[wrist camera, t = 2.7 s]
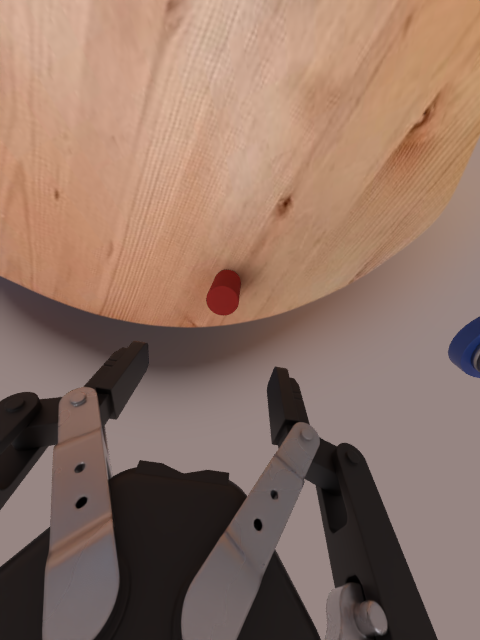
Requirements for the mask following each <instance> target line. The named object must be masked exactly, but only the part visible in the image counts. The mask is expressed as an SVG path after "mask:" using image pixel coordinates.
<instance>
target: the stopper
mask: <svg viewBox="0 0 480 640" xmlns="http://www.w3.org/2000/svg"><path fill="white" fill-rule="evenodd" d="M240 286H241V280H240V277H239V276H238V274H237V273H235V272H234V271H232V270H222V271H220V272H219V273H218V274H217V275H216V277H215V279H214V281H213V283H212V285H211V288H210V290H209V292H208V294H207V298H206V301H207V305H208V307H209V308H210V310H211V311H212V312H214V313H216V314H218V315H229V314H231V313H233V312H234V311H235V310H236V309H237V307H238V304H239V295H240Z"/></svg>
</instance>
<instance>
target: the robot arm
mask: <svg viewBox="0 0 480 640" xmlns="http://www.w3.org/2000/svg"><path fill="white" fill-rule="evenodd" d="M148 364H149V356H148V344H147V343H145V342H139V341H133V342H132V343H131V344H130V346H129V347H128V348H121V349H119V350H118V351H116V352H114V353H113V354H112V356H111V357H110V358H109V359H108V360H107V361H106V362H105V363H104V365H103V366H102V367H101V368H100V369H99V370H98V371H97V372H96V374H95V375H94V376H93V377H92V378H91V379H90V380H89V381H88V383H86V385H85V386H84V387H81V388H77V389H75V390H72V391H70V392H68V393H67V394H66V395H64V396H63V397H58V398H49V399H39V398H38V396H37V395H36V394H35V393H32V392H22V393H17V394H14V395H11V396H9V397H7V398H5V399H3V400H2V401H0V510H1V508H2V507H3V506H4V504H5V503H6V502H7V500H8V499H9V498H10V496H11V495H12V494H13V493H14V491H15V490H16V488H17V487H18V486H19V485H20V483H21V482H22V481H23V479H24V478H25V476H26V475H27V474H28V472H29V471H30V470H31V469H32V467H33V466H34V465H35V463H36V462H37V461H38V459H39V458H40V457H41V455H42V454H43V453H44V451H45V450H46V448H47V447H48V446H51V445H55V446H54V450H53V469H52V496H51V520H50V527H49V528H48V529H47V530H45V531H44V532H43V533H42V534H40V535H39V536H38V537H37V538H36V539H34V540H33V541H32V542H31V543H29V544H28V545H27V546H26V547H24V548H23V549H22V550H21V551H19V552H18V553H17V554H16V555H14V556H13V557H12V558H11V559H10V560H8V561H7V562H6V563H5V564H3V565H2V566H1V567H0V640H321V639H320V636H319V634H318V632H317V629H316V627H315V626H314V623H313V622H312V619H311V617H310V616H309V614H308V612H307V610H306V608H305V606H304V604H303V602H302V600H301V598H300V596H299V594H298V593H297V590H296V589H295V587H294V585H293V583H292V581H291V579H290V577H289V575H288V573H287V571H286V569H285V567H284V565H283V563H282V562H281V560H280V558H279V556H278V554H277V552H276V550H275V548H276V546H277V543H278V541H279V539H280V537H281V534H282V532H283V530H284V528H285V525H286V523H287V521H288V518H289V516H290V514H291V512H292V510H293V507H294V505H295V503H296V501H297V499H298V496H299V494H300V492H301V490H302V487H303V485H304V479H306V480H308V481H310V482H311V483H313V484H315V485H316V489H317V495H318V500H319V505H320V511H321V516H322V521H323V527H324V531H325V537H326V542H327V548H328V553H329V559H330V564H331V569H332V574H333V580H334V585H335V589H333V590H332V591H331V592H330V593H329V596H328V599H327V604H326V613H327V631H326V636H325V640H438V639H437V637H436V634H435V632H434V629H433V627H432V624H431V622H430V619H429V617H428V614H427V612H426V609H425V607H424V604H423V602H422V599H421V597H420V594H419V592H418V590H417V587H416V584H415V582H414V580H413V577H412V574H411V572H410V569H409V567H408V564H407V562H406V559H405V557H404V554H403V552H402V550H401V547H400V544H399V542H398V539H397V537H396V535H395V532H394V530H393V527H392V525H391V522H390V520H389V518H388V515H387V512H386V510H385V507H384V505H383V502H382V500H381V497H380V495H379V492H378V490H377V487H376V485H375V482H374V480H373V477H372V475H371V473H370V470H369V467H368V465H367V463H366V460H365V458H364V457H363V455H362V454H361V452H360V451H359V450H358V449H357V448H355V447H354V446H352V445H350V444H348V443H341V444H339V445H338V446H335V445H333V444H331V443H329V442H327V441H324V440H323V439H321V438H320V437H319V436H318V434H317V432H316V431H315V430H314V428H313V427H311V426H310V424H309V421H308V417H307V413H306V410H305V406H304V402H303V400H302V399H303V398H302V395H301V391H300V387H299V385H298V383H297V382H296V380H295V379H294V378H289V374H288V370H287V369H286V368H280V367H275V368H274V370H273V372H272V375H271V377H270V380H269V382H268V387H267V397H268V408H269V418H270V429H271V439H272V444H273V445H278V448H279V449H278V451H277V452H276V454H275V455H274V456H273V458H272V459H271V461H270V462H269V464H268V465H267V467H266V468H265V470H264V472H263V473H262V475H261V476H260V478H259V479H258V481H257V482H256V484H255V485H254V487H253V489H252V490H251V492H250V493H249V495H248V496H247V495H246V494H245V493H244V492H243V490H242V489H241V488H240V487H238V486H237V485H236V484H234V483H233V482H232V481H230V480H229V473H226V472H219V471H212V470H204V471H197V472H191V473H185V474H184V473H181V472H178V471H177V470H175V469H173V468H171V467H168V466H167V465H164V464H162V463H156V462H149V461H141V460H140V461H139V464H138V466H137V467H136V468H132V469H128V470H125V471H123V472H120V473H119V474H117V475H115V476H113V474H112V469H111V464H110V459H109V452H108V445H107V438H106V432H105V424H106V422H107V421H108V419H117V418H118V417H119V415H120V413H121V412H122V410H123V408H124V407H125V405H126V403H127V402H128V400H129V398H130V397H131V395H132V393H133V392H134V390H135V388H136V387H137V385H138V384H139V382H140V380H141V379H142V377H143V375H144V374H145V372H146V370H147V367H148ZM471 365H472V366H473V368H475V369H476V370H477V371H478V372H480V344H479V345H478V346H477V347H476V349H475V350H474V352H473V353H472V356H471Z"/></svg>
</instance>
